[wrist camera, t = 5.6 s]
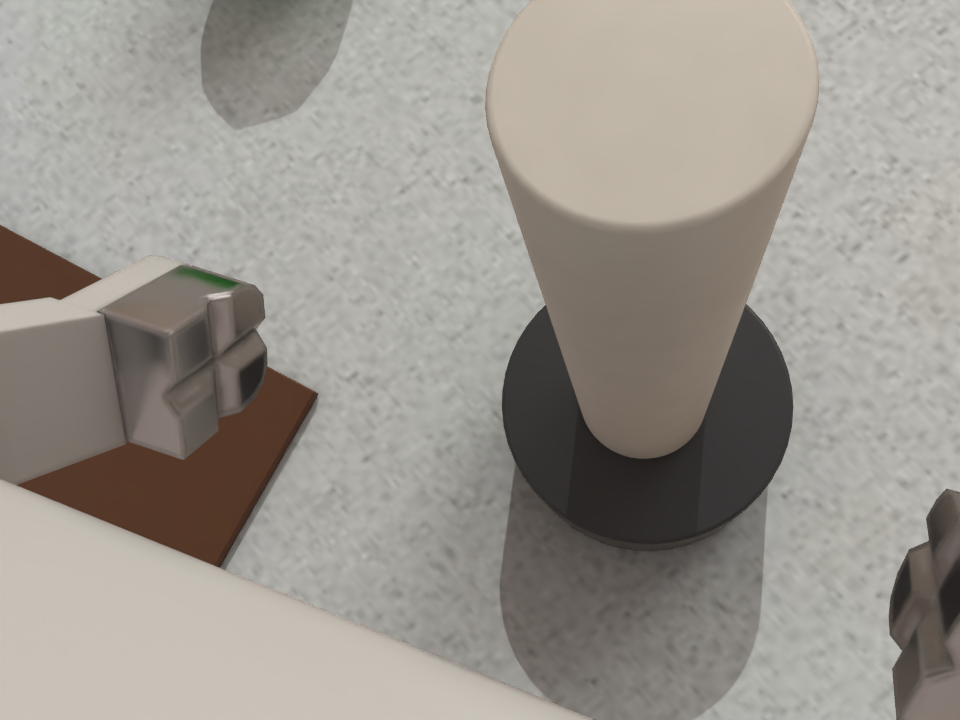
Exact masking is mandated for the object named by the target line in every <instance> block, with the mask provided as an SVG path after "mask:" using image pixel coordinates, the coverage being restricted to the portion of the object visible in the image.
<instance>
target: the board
mask: <svg viewBox="0 0 960 720" xmlns="http://www.w3.org/2000/svg"><path fill="white" fill-rule="evenodd" d="M99 280H101V278H99V277H97V276H96V275H94V274H92V273H90V272H88V271H86V270H84V269H82V268H80V267H79V266H77V265H75V264H73V263H71V262H69V261H67V260H65V259H63V258H62V257H60V256H58V255H56V254H54V253H52V252H50V251H48V250H46V249H45V248H43V247H41V246H39V245H37V244H35V243H33V242H31V241H29V240H28V239H26V238H24V237H22V236H20V235H18V234H16V233H14V232H12V231H11V230H9V229H7V228H5V227H3V226H1V225H0V304H6V303H13V302H20V301H27V300H34V299H41V298H48V297H51V298H54V299H57V300H61V299H63V298H65V297H67V296H69V295H71V294H73V293H75V292H77V291H79V290H81V289H83V288H85V287H87V286H89V285H91V284H93V283H95V282H97V281H99ZM317 396H318V393H316V392H315V391H313V390H311V389H309V388H307V387H305V386H303V385H302V384H300V383H298V382H296V381H294V380H292V379H290V378H288V377H286V376H285V375H283V374H281V373H279V372H277V371H275V370H273V369H271V368H269V367H268V366H267V368H266V373H265V379H264V382H263V384H262V386H261V388H260V389H259V391H258V393H257V395H256V397H255V399H254V400H253V401H252V402H251V403H250V404H249V405H248V406H247V407H245V408H244V409H243V410H242V411H241V412H240V413H236V414H232V415H229V416H225V417H222V418H219V425H218V432H216V433H215V434H214V435H213V436H212V437H211V438H209V439H208V440H207V441H206V442H205V443H203V444H202V445H201V446H200V447H199V448H198V449H196V450H195V451H194V452H193V453H192V454H190V455H189V456H188V457H187V458H186V459H185V460H182V459H179V458H176V457H173V456H170V455H167V454H164V453H161V452H158V451H155V450H152V449H149V448H146V447H143V446H140V445H137V444H134V443H131V442H128V441H126V444H125V445H123V446H120V447H117V448H115V449H112V450H109V451H107V452H104V453H101V454H99V455H96V456H93V457H90V458H88V459H85V460H82V461H80V462H77V463H74V464H72V465H69V466H66V467H64V468H61V469H58V470H56V471H53V472H50V473H48V474H45V475H42V476H40V477H37V478H34V479H32V480H29V481H26V482H24V483H21V484H18V485H17V486H19V487H22V488H24V489H27V490H29V491H31V492H34V493H36V494H39V495H41V496H44V497H46V498H49V499H51V500H54V501H56V502H59V503H61V504H64V505H66V506H68V507H71V508H73V509H76V510H78V511H81V512H83V513H86V514H88V515H91V516H93V517H96V518H98V519H101V520H103V521H105V522H108V523H110V524H113V525H115V526H118V527H120V528H123V529H125V530H128V531H130V532H133V533H135V534H138V535H140V536H143V537H145V538H147V539H150V540H152V541H155V542H157V543H160V544H162V545H165V546H167V547H170V548H172V549H175V550H177V551H180V552H182V553H184V554H187V555H189V556H192V557H194V558H197V559H199V560H202V561H204V562H207V563H209V564H212V565H214V566H217V567H220V565H221V563H222V562H223V560H224V558H225V556H226V555H227V553H228V551H229V549H230V548H231V546H232V544H233V542H234V541H235V539H236V537H237V535H238V534H239V532H240V530H241V528H242V527H243V525H244V523H245V521H246V520H247V518H248V516H249V514H250V513H251V511H252V509H253V507H254V506H255V504H256V502H257V500H258V499H259V497H260V495H261V493H262V492H263V490H264V488H265V486H266V485H267V483H268V481H269V479H270V478H271V476H272V474H273V472H274V471H275V469H276V467H277V465H278V464H279V462H280V460H281V458H282V457H283V455H284V453H285V451H286V450H287V448H288V446H289V444H290V443H291V441H292V439H293V438H294V436H295V434H296V432H297V431H298V429H299V427H300V425H301V424H302V422H303V420H304V418H305V417H306V415H307V413H308V411H309V410H310V408H311V406H312V404H313V403H314V401H315V399H316V397H317Z"/></svg>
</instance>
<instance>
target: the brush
mask: <svg viewBox="0 0 960 720" xmlns="http://www.w3.org/2000/svg"><path fill="white" fill-rule="evenodd" d="M818 93H819V73H818V62H817V58H816V54H815V50H814V46H813V43H812V41H811V38H810V36H809V34H808V31H807V29H806V27H805V24H804V22H803V21H802V19H801V18H800V16H799V14H798V13H797V11H796V10H795V8H794V7H793V5H792V4H791V3H790V2H789V1H788V0H532V1H531V2H530V3H529V4H527V6H526V7H525V8H524V9H523V10H522V11H521V13H520V14H519V15H518V16H517V17H516V19H515V20H514V21H513V23H512V24H511V26H510V27H509V29H508V30H507V32H506V33H505V35H504V37H503V39H502V41H501V43H500V45H499V47H498V49H497V51H496V54H495V57H494V60H493V63H492V66H491V69H490V72H489V77H488V82H487V87H486V103H485V110H486V119H487V127H488V130H489V134H490V138H491V142H492V145H493V148H494V151H495V154H496V157H497V160H498V163H499V166H500V169H501V172H502V175H503V178H504V181H505V184H506V187H507V190H508V193H509V196H510V199H511V202H512V205H513V208H514V211H515V214H516V217H517V220H518V223H519V226H520V229H521V232H522V235H523V238H524V241H525V244H526V247H527V250H528V253H529V256H530V259H531V262H532V265H533V268H534V271H535V274H536V277H537V280H538V283H539V286H540V289H541V292H542V295H543V298H544V301H545V304H546V305H545V306H544V307H543V308H542V309H541V310H540V311H539V312H538V313H537V314H536V315H535V317H534V318H533V319H532V320H531V322H530V323H529V324H528V325H527V327H526V328H525V330H524V332H523V333H522V335H521V336H520V338H519V340H518V341H517V344H516V346H515V348H514V350H513V352H512V355H511V357H510V360H509V363H508V367H507V370H506V373H505V379H504V385H503V393H502V413H503V423H504V429H505V433H506V437H507V442H508V445H509V447H510V450H511V453H512V455H513V458H514V460H515V462H516V464H517V466H518V468H519V470H520V471H521V473H522V475H523V477H524V478H525V480H526V481H527V482H528V484H529V485H530V486H531V488H532V489H533V491H534V492H535V493H536V494H537V495H538V496H539V497H540V498H541V499H542V500H543V501H544V502H545V503H546V504H547V505H548V506H549V507H550V508H551V509H552V510H553V511H554V512H555V513H556V514H558V515H559V516H560V517H561V518H562V519H564V520H565V521H566V522H567V523H568V524H570V525H571V526H572V527H574V528H575V529H577V530H578V531H580V532H582V533H583V534H585V535H587V536H589V537H591V538H593V539H595V540H598V541H600V542H602V543H605V544H608V545H612V546H615V547H618V548H624V549H630V550H639V551H657V550H667V549H673V548H677V547H681V546H685V545H688V544H691V543H694V542H696V541H699V540H701V539H703V538H705V537H707V536H709V535H711V534H713V533H714V532H716V531H718V530H719V529H720V528H722V527H723V526H724V525H726V524H727V523H728V522H730V521H731V520H732V519H734V518H735V517H736V516H738V515H739V514H740V513H742V512H743V511H744V510H746V509H747V508H748V507H749V506H750V505H751V504H752V503H753V502H754V501H755V500H756V499H757V498H758V497H759V496H760V495H761V493H762V492H763V491H764V489H765V488H766V487H767V485H768V484H769V483H770V481H771V480H772V478H773V476H774V475H775V473H776V471H777V469H778V467H779V466H780V464H781V462H782V459H783V456H784V454H785V451H786V448H787V446H788V442H789V437H790V432H791V428H792V417H793V397H792V386H791V382H790V377H789V372H788V369H787V366H786V363H785V360H784V358H783V355H782V352H781V350H780V348H779V347H778V345H777V343H776V341H775V339H774V337H773V335H772V334H771V333H770V331H769V330H768V328H767V327H766V326H765V324H764V323H763V321H762V320H761V319H760V318H759V317H758V316H757V315H756V314H755V313H754V311H753V310H752V309H751V308H750V307H749V306H748V305H746V302H747V299H748V296H749V294H750V291H751V288H752V286H753V283H754V280H755V277H756V275H757V272H758V269H759V267H760V264H761V261H762V259H763V256H764V253H765V250H766V248H767V245H768V242H769V240H770V237H771V234H772V231H773V229H774V226H775V223H776V221H777V218H778V215H779V212H780V210H781V207H782V204H783V202H784V199H785V196H786V193H787V191H788V188H789V185H790V183H791V180H792V177H793V174H794V172H795V169H796V166H797V164H798V161H799V158H800V156H801V153H802V150H803V147H804V145H805V142H806V139H807V137H808V134H809V131H810V128H811V126H812V123H813V120H814V116H815V111H816V107H817V103H818Z"/></svg>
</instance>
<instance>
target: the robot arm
mask: <svg viewBox="0 0 960 720" xmlns="http://www.w3.org/2000/svg"><path fill="white" fill-rule="evenodd" d="M264 319H265V309H264V299H263V294H262V293H261V292H260V291H259V289H258V288H257V287H256V286H255V285H253V284H249V283H246V282H243V281H240V280H237V279H234V278H230V277H227V276H224V275H221V274H218V273H215V272H211V271H208V270H205V269H202V268H199V267H196V266H190V265H189V264H187V263H184V262H180V261H176V260H173V259H169V258H165V257H160V256H151V255H149V256H147V257H145V258H143V259H141V260H139V261H137V262H135V263H133V264H131V265H129V266H127V267H125V268H123V269H121V270H119V271H117V272H115V273H113V274H111V275H109V276H107V277H105V278H103V279H101V280H99V281H97V282H95V283H93V284H91V285H89V286H87V287H85V288H83V289H81V290H79V291H77V292H75V293H73V294H71V295H69V296H67V297H65V298H63V299H61V300H57V299H54V298H51V297H48V298H41V299H34V300H27V301H20V302H13V303H6V304H0V720H594V719H592V718H589V717H587V716H584V715H582V714H579V713H577V712H574V711H572V710H570V709H567V708H565V707H562V706H560V705H557V704H555V703H552V702H550V701H547V700H545V699H543V698H540V697H538V696H535V695H533V694H530V693H528V692H525V691H523V690H520V689H518V688H516V687H513V686H511V685H508V684H506V683H503V682H501V681H498V680H496V679H494V678H491V677H489V676H486V675H484V674H481V673H479V672H476V671H474V670H471V669H469V668H466V667H464V666H461V665H459V664H456V663H454V662H452V661H449V660H447V659H444V658H442V657H439V656H437V655H434V654H432V653H429V652H427V651H424V650H422V649H419V648H417V647H414V646H412V645H409V644H407V643H405V642H402V641H400V640H397V639H395V638H392V637H390V636H387V635H385V634H382V633H380V632H377V631H375V630H372V629H370V628H367V627H365V626H362V625H360V624H358V623H355V622H353V621H350V620H348V619H345V618H343V617H340V616H338V615H335V614H333V613H330V612H328V611H325V610H323V609H320V608H318V607H315V606H313V605H311V604H308V603H306V602H303V601H301V600H298V599H296V598H293V597H291V596H288V595H286V594H283V593H281V592H278V591H276V590H273V589H271V588H268V587H266V586H264V585H261V584H259V583H256V582H254V581H251V580H249V579H246V578H244V577H241V576H239V575H236V574H234V573H231V572H229V571H226V570H224V569H222V568H219V567H217V566H214V565H212V564H209V563H207V562H204V561H202V560H199V559H197V558H194V557H192V556H189V555H187V554H184V553H182V552H180V551H177V550H175V549H172V548H170V547H167V546H165V545H162V544H160V543H157V542H155V541H152V540H150V539H147V538H145V537H143V536H140V535H138V534H135V533H133V532H130V531H128V530H125V529H123V528H120V527H118V526H115V525H113V524H110V523H108V522H105V521H103V520H101V519H98V518H96V517H93V516H91V515H88V514H86V513H83V512H81V511H78V510H76V509H73V508H71V507H68V506H66V505H64V504H61V503H59V502H56V501H54V500H51V499H49V498H46V497H44V496H41V495H39V494H36V493H34V492H31V491H29V490H27V489H24V488H22V487H19V486H17V485H18V484H21V483H24V482H26V481H29V480H32V479H34V478H37V477H40V476H42V475H45V474H48V473H50V472H53V471H56V470H58V469H61V468H64V467H66V466H69V465H72V464H74V463H77V462H80V461H82V460H85V459H88V458H90V457H93V456H96V455H99V454H101V453H104V452H107V451H109V450H112V449H115V448H117V447H120V446H123V445H125V444H126V441H128V442H131V443H134V444H137V445H140V446H143V447H146V448H149V449H152V450H155V451H158V452H161V453H164V454H167V455H170V456H173V457H176V458H179V459H182V460H185V459H186V458H187V457H188V456H189V455H190V454H192V453H193V452H194V451H195V450H196V449H198V448H199V447H200V446H201V445H202V444H203V443H205V442H206V441H207V440H208V439H209V438H211V437H212V436H213V435H214V434H215V433H216V432H218V425H219V418H222V417H225V416H229V415H232V414H236V413H240V412H241V411H242V410H243V409H244V408H245V407H247V406H248V405H249V404H250V403H251V402H252V401H253V400H254V399H255V397H256V395H257V393H258V391H259V389H260V388H261V386H262V384H263V382H264V379H265V373H266V368H267V347H266V345H265V344H264V342H263V340H262V339H261V337H260V335H259V334H258V332H257V330H256V329H257V328H258V326H259V325H260V324H261V323H262V321H263V320H264ZM926 521H927V528H928V536H929V541H928V542H925V543H923V544H921V545H918V546H916V547H914V548H911V549H909V551H908V553H907V555H906V557H905V559H904V561H903V563H902V565H901V567H900V569H899V571H898V573H897V577H896V580H895V584H894V587H893V591H892V594H891V599H890V609H889V629H890V636H891V637H892V638H893V640H894V641H895V642H896V643H897V645H898V646H899V647H900V649H901V650H902V653H901V654H900V656H899V658H898V660H897V661H896V663H895V665H894V667H893V668H892V672H893V684H894V696H895V708H896V720H960V492H957V491H953V490H949V489H946V490H945V491H944V492H943V493H942V494H941V495H940V496H939V498H938V499H937V500H936V502H935V503H934V505H933V507H932V509H931V510H930V512H929V514H928V516H927V518H926Z"/></svg>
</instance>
